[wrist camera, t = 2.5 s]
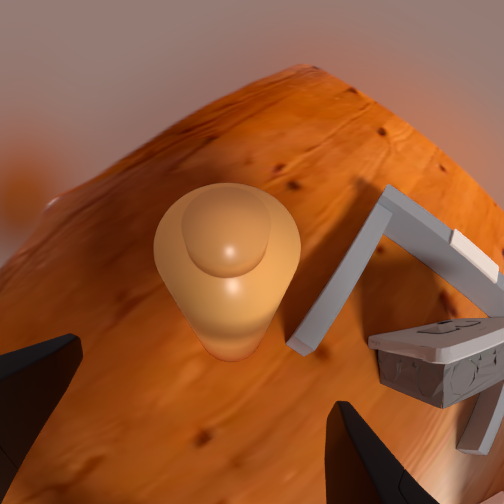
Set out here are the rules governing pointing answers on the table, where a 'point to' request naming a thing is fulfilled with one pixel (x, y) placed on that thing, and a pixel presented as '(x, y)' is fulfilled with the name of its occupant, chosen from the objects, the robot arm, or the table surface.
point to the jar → (495, 499)
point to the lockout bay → (440, 261)
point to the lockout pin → (227, 263)
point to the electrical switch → (442, 359)
